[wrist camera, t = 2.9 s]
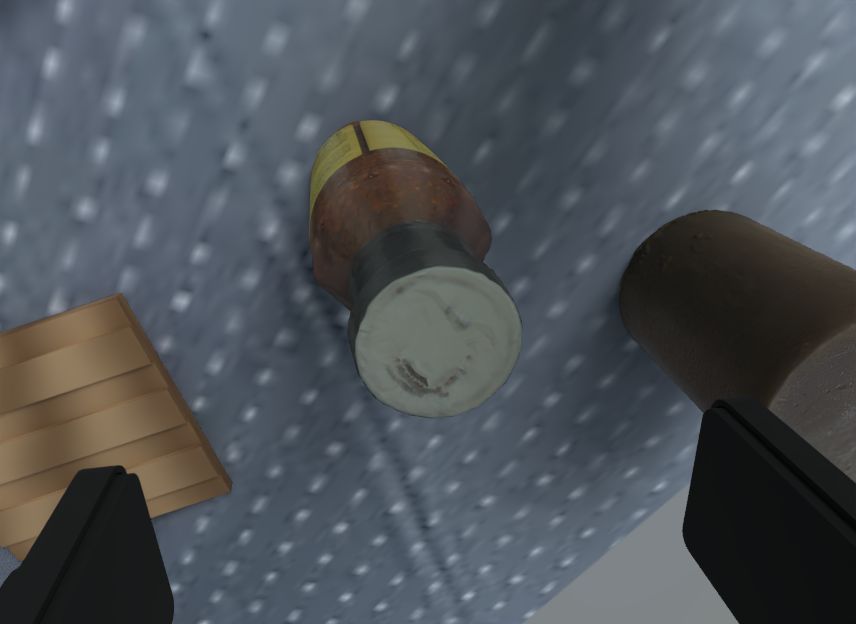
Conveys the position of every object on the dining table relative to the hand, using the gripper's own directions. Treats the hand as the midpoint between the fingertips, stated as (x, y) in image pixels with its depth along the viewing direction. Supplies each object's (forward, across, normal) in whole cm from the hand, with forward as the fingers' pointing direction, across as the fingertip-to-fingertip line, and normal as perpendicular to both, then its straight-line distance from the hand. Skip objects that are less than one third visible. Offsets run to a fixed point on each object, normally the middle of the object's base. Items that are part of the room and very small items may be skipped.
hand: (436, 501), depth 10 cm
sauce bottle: (+24, 0, -1) cm, 24 cm away
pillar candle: (+24, -19, +7) cm, 32 cm away
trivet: (+24, +19, +13) cm, 34 cm away
